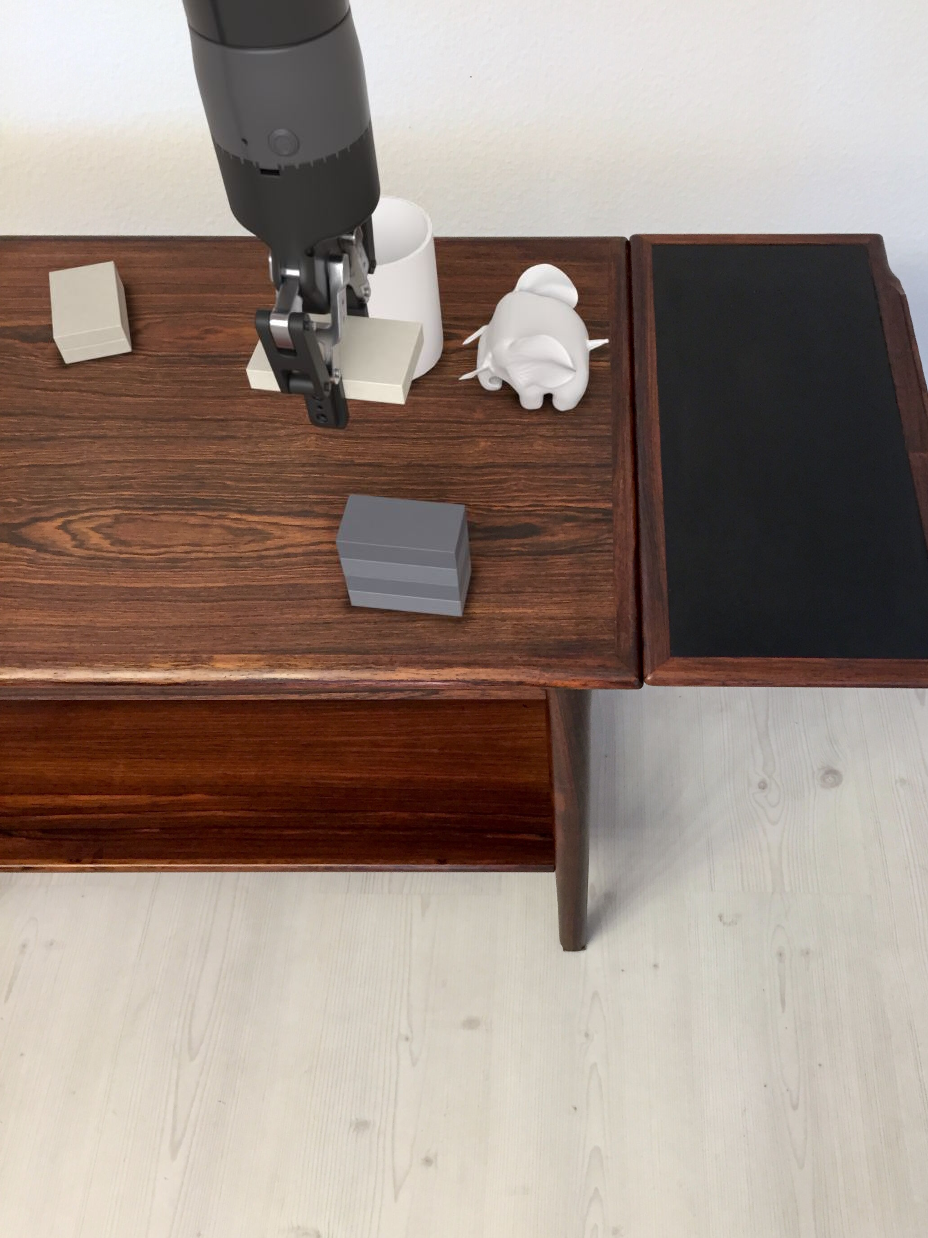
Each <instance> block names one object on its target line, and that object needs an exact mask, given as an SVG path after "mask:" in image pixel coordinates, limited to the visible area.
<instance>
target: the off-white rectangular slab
mask: <svg viewBox="0 0 928 1238" xmlns="http://www.w3.org/2000/svg"><path fill="white" fill-rule="evenodd" d="M273 309H274V307H273V308H272V310H273ZM309 316H310V319H311V321H315V322H325V323H331V314H327V315H318V314H309ZM347 328H348V332H347V335H346V336H345V337H344V338H343V339H342V340H341V341H340V342H339V351H340V369H341V374H342V381H343V386H344V391H345V397H346V399H348V400H359V401H368V402H369V401H370V402H377V403H387V404H395V405H396V404H398V405H405V404H406V401H407V398H408V394H409V391H410V388H411V385H412V381H413V380H412V379H413V376H414V372H415V369H416V366H417V363H418V359H419V356H420V353H421V350H422V347H423V343H424V336H423V327H422V323H419V322H409V321H399V320H389V319H379V318H369V317H359V316H348V315H347ZM318 344H319V347H320V350H321V353H322V356H323V359H324V360H325V350H324V346H323V344H322V343H320V342H318ZM245 371H246V376H247V378H248V381H249V385H250V388H251V389H254V390H264V391H272V392H273V391H274V392H281V391H280V389H279V386H278V384H277V381H276V379H275V376H274V374H273V371H272V369H271V366H270V364H269V361H268V359H267V356H266V354H265V351H264V349H263V346H262V343H261V341H260V338H259V340H258V342H257V344H256V346H255V349H254V351H253V353H252V355H251V358H250V360H249V362H248V364H247V366H246V369H245Z"/></svg>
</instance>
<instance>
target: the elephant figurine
mask: <svg viewBox="0 0 928 1238" xmlns="http://www.w3.org/2000/svg"><path fill="white" fill-rule="evenodd" d="M578 301H579V295H578V291H577V289H576V286H575V285H574V283H573V282H572V280H571V279H570V278H569V277H568V275H567V274H566V273H565V272H563V271H562V270H561V269H559V268H558V267H556V266H554V265H552V264H549V263H540V264H537V265H533V266H531V267H529V268H527V269H526V270H525V271H524V272H522V274H521V275H520V277H519V278H518V279H517V283H516V284H515V287H514V289H513V291H510V292H508V293H506V294H505V295H504V296H503V297H502V298H501V299H500V300H499V301H498V303H497V305H496V308H495V310H494V313H493V316H492V318H491V320H490V321H489V323H488V324H486V325H485V324H484V325H483V326H481V327H480V328H479V329H478V330H477V331H476V332H474V333H473V334H471V335H470V336H469V337H467V338H466V339H465V340H464V342H463V343H462V344H461V345H468V344H469V343H471V342H472V341H474V340H476V339H477V338H478V337H479V340H478V343H477V344H478V345H477V347H478V348H477V354H476V355H477V357H476V369H475V370H473V371H471V372H468V373H466V374H463V375H462V376H461V377H459V378H458V381H459V380H460V381H461V380H466V379H467V380H468V379H472V378H474V377H475V376H477V380H478V381H479V383H480V385H481V386H482V388H484V389H485V390H486V391H498V390H500V389H501V388H502V386H503V381H504V382H506V383H507V384H509V385H510V386H511V387H512V388H513V390H514V391H516V393H517V394H518V396H519V402H520V405H521V406H522V408H524V409H527V410H536V409H537V410H538V409H541V407H542V406H543V403H544V395H546V394H552V400H551V402H552V405H553V407H554V408H555V409H556V410H558V411H561V412H565V411H569V410H572V409H574V408H576V407H577V405H578V403H579V402H580V401H581V399H582V397H583V396H584V395H585V392H586V389H587V387H588V383H589V378H590V351H591V350H594V349H596V348H598V347H601V346H602V345H604V344H608V343H609V342H610V340H609V338H605V339H600V338H599V339H590V337H589V332H588V329H587V327H586V324H585V322H584V321H583V320H582V318H581V317H580V315H579V314H578V313H577V312H576V311H575V309H574V308H575V307H576V306H577V303H578Z"/></svg>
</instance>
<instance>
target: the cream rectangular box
mask: <svg viewBox="0 0 928 1238" xmlns="http://www.w3.org/2000/svg"><path fill="white" fill-rule="evenodd" d="M48 279H49V280H48V281H49V294H50V308H51V323H52V338H53V340H54V342H55V345H56V346H57V349H58V351H59V352H60V355H61V357H62V359H63V361H64V363H65V365H66V364H67V365H68V364H72V363H78V362H83V361H88V360H89V361H90V360H93V359H100V358H105V357H109V356H115V355H120V354H125V353H131V352H132V351H133V348H132V341H131V334H130V325H129V318H128V310H127V302H126V296H125V295H126V294H125V287H124V284H123V281H122V279H121V277H120V274H119V271H118V269H117V266H116V264H115V262H114V261H113V260H111V261H105V262H100V263H94V264H88V265H83V266H77V267H71V268H66V269H60V270H54V271H49V272H48Z"/></svg>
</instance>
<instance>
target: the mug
mask: <svg viewBox="0 0 928 1238" xmlns="http://www.w3.org/2000/svg"><path fill="white" fill-rule="evenodd" d="M372 225H373V236H374V248H375V259H376V263H377V264H376V268H375V271H374V274H367V279H368V282H369V285H370V289H371V295H370V297H369V301H368V303H367V307H368V314H369V318H379V319H389V320H399V321H409V322H419V323H422V327H423V336H424V343H423V347H422V350H421V353H420V356H419V359H418V363H417V366H416V369H415V372H414V376H413V379H412V381H415V380H416V379H418V378H419V377H422V376H423V375H425V374H426V373H427V372H429V371H430V370H432V368H433V367H435V366H436V365H437V363H438V361H439V360H440V359H441V355H442V353H443V349H444V332H443V322H442V321H443V319H442V312H441V311H442V310H441V301H440V291H439V281H438V270H437V261H436V249H435V241H434V240H435V239H434V231H433V229H434V228H433V223H432V219H431V218H430V216H429V214H428V213H427V212H426V210H424V209H423V208H422V207H420V205H418V204H416V203H415V202H412V201H410V200H409V199H407V198H403V197H399V196H395V195H390V194H380V199H379V202H378V205H377V207H376V209H375V211H374V212H373V214H372Z"/></svg>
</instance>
